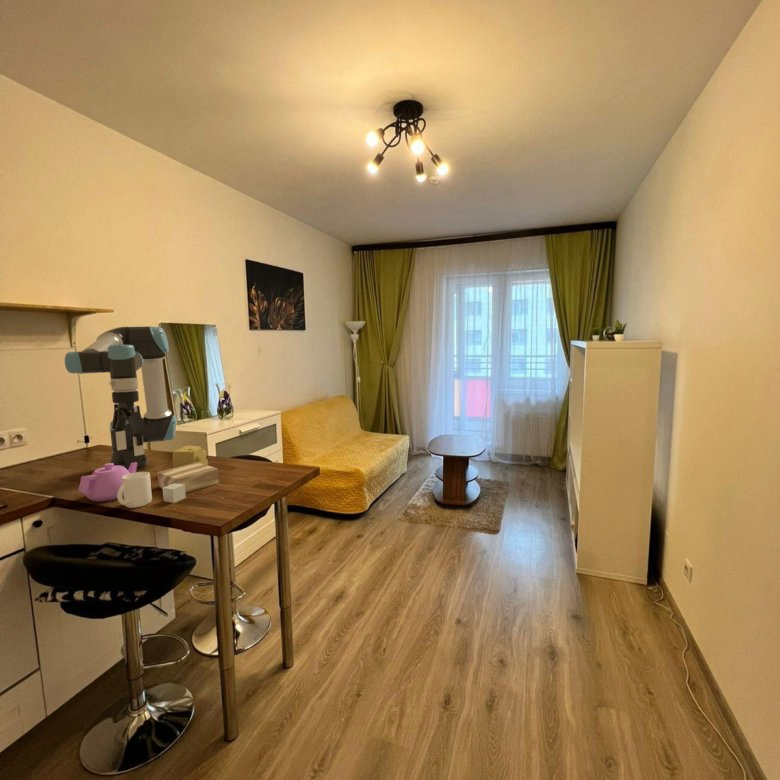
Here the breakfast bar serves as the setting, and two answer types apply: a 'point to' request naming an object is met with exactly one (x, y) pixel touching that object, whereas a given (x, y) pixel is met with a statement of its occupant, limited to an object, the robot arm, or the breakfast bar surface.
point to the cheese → (189, 456)
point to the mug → (135, 490)
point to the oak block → (189, 476)
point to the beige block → (174, 492)
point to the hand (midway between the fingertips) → (130, 452)
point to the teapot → (105, 482)
